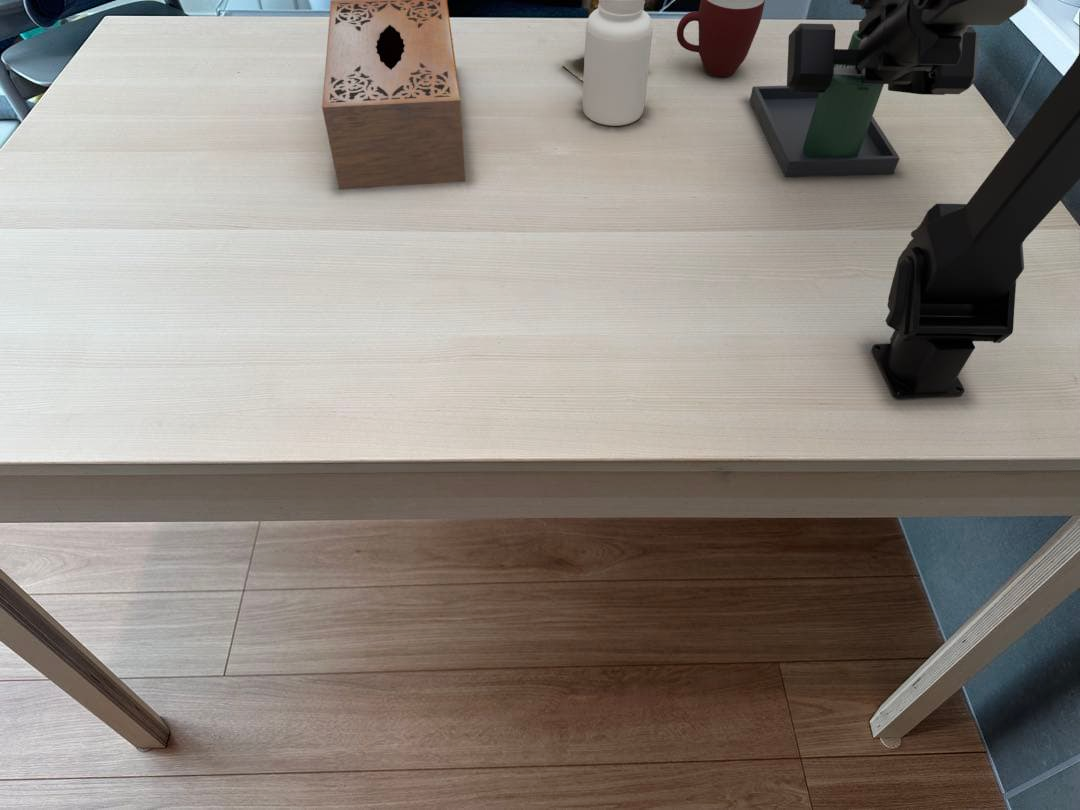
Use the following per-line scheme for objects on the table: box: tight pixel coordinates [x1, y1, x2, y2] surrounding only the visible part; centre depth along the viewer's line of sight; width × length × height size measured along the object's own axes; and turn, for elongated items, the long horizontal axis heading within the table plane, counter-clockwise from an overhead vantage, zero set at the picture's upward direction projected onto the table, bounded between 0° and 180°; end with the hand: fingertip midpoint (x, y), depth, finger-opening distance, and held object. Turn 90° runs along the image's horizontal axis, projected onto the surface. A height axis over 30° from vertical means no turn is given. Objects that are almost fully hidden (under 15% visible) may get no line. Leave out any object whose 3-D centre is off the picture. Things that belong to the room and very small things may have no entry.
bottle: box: [803, 29, 885, 158], centre depth 91 cm, size 6×6×14 cm
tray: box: [749, 85, 901, 178], centre depth 99 cm, size 17×13×2 cm
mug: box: [676, 0, 766, 78], centre depth 106 cm, size 11×8×10 cm
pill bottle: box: [581, 0, 654, 127], centre depth 97 cm, size 8×8×15 cm
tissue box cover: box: [321, 0, 467, 190], centre depth 96 cm, size 26×14×10 cm, turn 8°
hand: (849, 84), depth 90 cm, fingers open, 9 cm apart
